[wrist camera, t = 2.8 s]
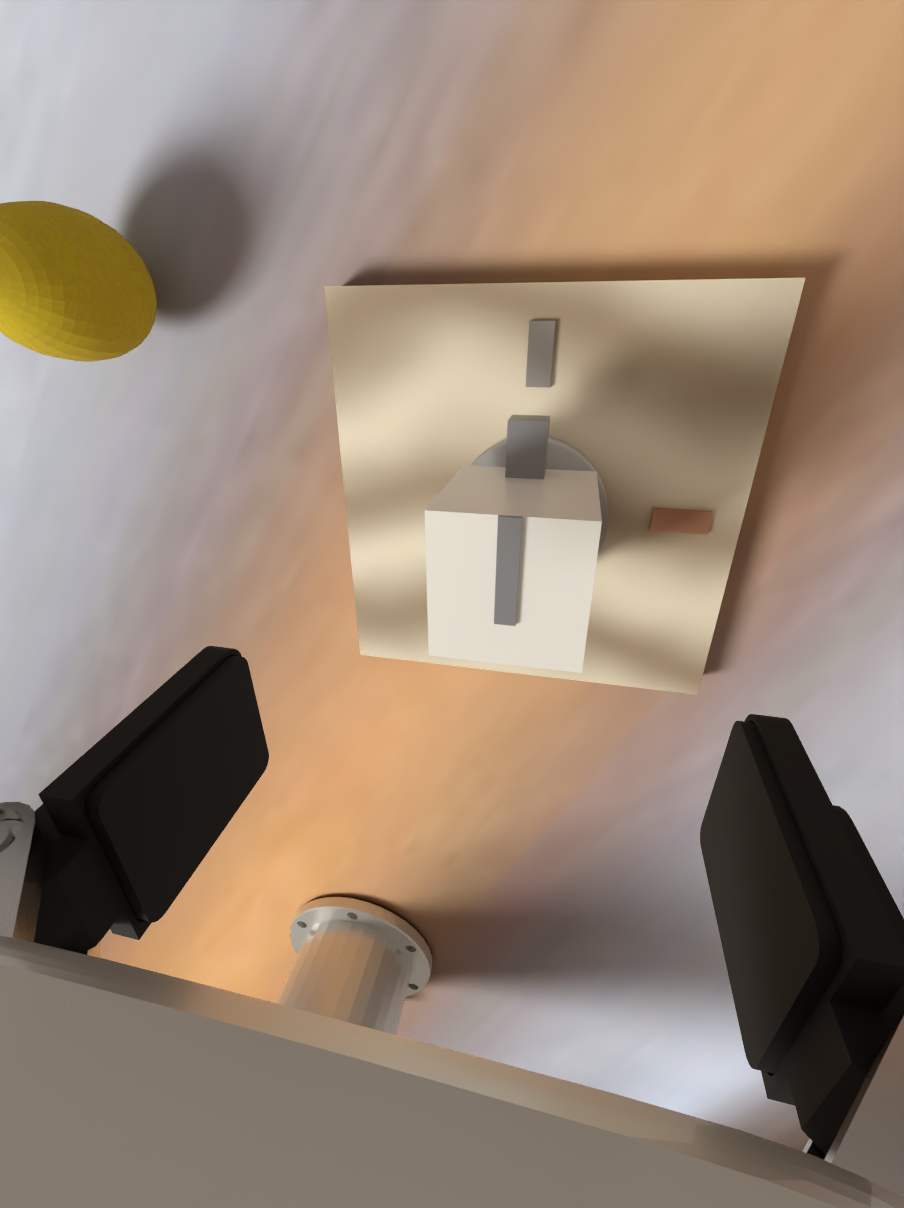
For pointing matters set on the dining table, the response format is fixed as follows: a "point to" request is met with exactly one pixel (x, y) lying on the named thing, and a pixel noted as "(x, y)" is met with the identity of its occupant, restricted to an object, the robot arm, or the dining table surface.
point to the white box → (513, 558)
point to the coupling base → (606, 399)
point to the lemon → (71, 284)
